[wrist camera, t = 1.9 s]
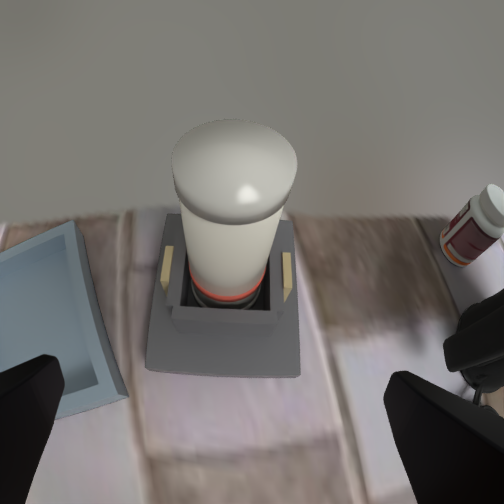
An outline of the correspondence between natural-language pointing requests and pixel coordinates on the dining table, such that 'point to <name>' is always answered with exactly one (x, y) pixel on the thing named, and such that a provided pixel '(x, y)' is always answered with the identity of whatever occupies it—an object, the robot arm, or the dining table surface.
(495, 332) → the milk frother
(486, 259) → the dining table surface
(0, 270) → the tray
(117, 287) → the dining table surface
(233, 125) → the cylinder
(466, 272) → the dining table surface
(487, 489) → the robot arm
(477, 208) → the pill bottle
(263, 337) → the fuse holder
